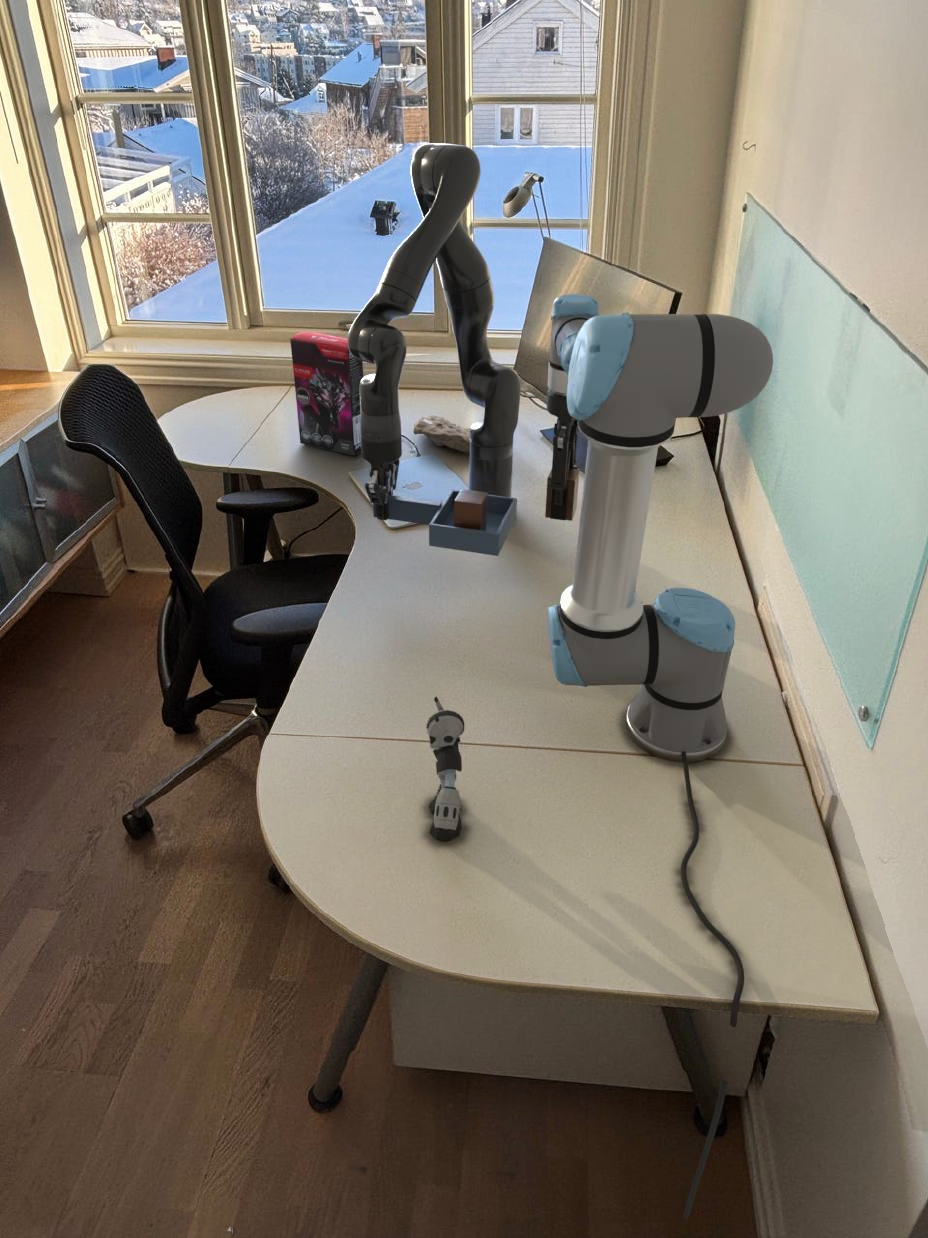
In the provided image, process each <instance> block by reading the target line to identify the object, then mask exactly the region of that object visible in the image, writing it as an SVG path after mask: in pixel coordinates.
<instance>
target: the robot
mask: <svg viewBox="0 0 928 1238" xmlns="http://www.w3.org/2000/svg"><path fill="white" fill-rule="evenodd" d="M433 701H434V703H435V706H436V708H437V712H434V713H433V714H432V715H430V717H429V718H428V720H427V722H426V724H425V727H426V734H427V735H428V738H429V747H430V749H432V753H433V755H434V757H435V759H436V762H435V769H436V775H437V777H438V778H439V783H440V784H439V785H438V789H437V792H436V795H434V797H433V798H432V799H431V801H430V802H429V804H428V809H429V811H430V814H431V815H432V816H433V821H432V824H431V826H430V829H429V832H428V834H429V835H430V836H431V837H432V838H433V839H434V840H435V841H439V842H449V841H452V840H454V839H457V838H459V837H460V835H461V832H462V831H463V827H462V826H463V825H462V817H461V815H460V812H461V810H462V808H461V797H460V793H459V792H460V791H459V790H458V789H457V787H456V781H457V772H462V770H463V766H462V765H463V761H462V755H461V752H460V747H459V743H460V742H461V737H460V736H461V735H463V733H464V732H465V720H464V717H462V715H461V714H460V713H458V712H457V711H454V710H451V709H445V708H444V707H443V705H442V703H441V702H440V699H439V698H438V697H437V696H435V697H434V698H433Z"/></svg>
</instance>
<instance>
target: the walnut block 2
mask: <svg viewBox="0 0 928 1238" xmlns="http://www.w3.org/2000/svg"><path fill="white" fill-rule="evenodd" d="M551 475H552V468H551V470H550V471H549V474H548V476H547V481H546V497H545V515H544V517H545V518H547V519H550V516H551V501H552V488H551V487H548V484H549V483H551ZM579 483H580V469H578V470H577V469H569V470H568V479H567V486H568V494H567V508H566V519H565V520H564V521H571V522H572V521H573V519H574V517H575V514H576V512H577V507H578V495H579Z"/></svg>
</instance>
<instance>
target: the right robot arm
mask: <svg viewBox="0 0 928 1238" xmlns="http://www.w3.org/2000/svg"><path fill="white" fill-rule="evenodd" d="M599 306H600V305H599V300H598V299H596V298H595V297H594V296H592V295H588V294H582V293H568V294H567V293H566V294H562V295H559V296H557V297H556V298H555V299H554V301H553V303H552V311H551V313H552V314H551V316H550V320H551V328H550V329H551V330H550V349H549V352H550V353H549V363H548V370H547V371H548V374H547V388H548V390H547V395H546V411H547V412H548V413H549V414H550V415H552V416H555V417H556V418H557V419H556V422H555V423H554V426H553V434H554V436H553V438H552V459H551V460H552V461H551V465H552V466H551V469H552V475H551V483H549V484H548V487H551V488H552V501H551V516H550V518H549V519H550V520H556V521H558V520H559V521H566V520H565V519H566V508H567V494H568V486H567V479H568V470H569V469H577V470H579V467H578V466H576V463H577V449H578V438H579V432H580V433H581V435H583V436H584V437H585V438H586V440H587V448H586V459H585V469H584V476H583V477H584V478H583V487H582V496H581V506H580V514H579V515H580V516H579V523H578V524H579V525H578V534H577V544H576V553H575V563H574V572H573V580H572V584H570V585H569V586H568V587H566V589H564V591H563V592H562V594H561V597H560V602H559V604H554V605H551V606H549V607H548V608H547V614H546V615H547V628H548V629H547V630H548V636H549V646H550V647H549V648H550V654H551V662H552V668H553V673H554V677H555V678H556V680H557V682H559V683H560V684H562V685H564V686H574V687H575V686H576V687H583V688H587V687H596V686H599V687H600V686H601V687H602V686H636V685H639V686H640V688H639V689H638V691H637V692H636V694H635V695H634V697H633V699H632V701H631V702H630V704H629V705H628V707H627V711H626V719H625V728H626V732H627V734H628V736H629V738H630V739H631V741H632V742H634V744H636V745H637V746H638V747H639V748H640V749H641V750H643V751H645V752H646V753H648V754H650V755H651V756H654V757H656V758H659V759H662V760H666V761H670V762H675V763H682V769H683V775H684V782H685V790H686V798H687V803H688V807H689V812H690V816H691V819H692V824H693V825H692V826H693V836H692V840H691V843H690V844H689V847H688V848H687V850H686V851H685V854H684V856H683V858H682V860H681V864H680V878H681V883H682V887H683V890H684V892H685V895H686V897H687V899H688V901H689V903H690V905H691V906H692V908H693V910H694V911H695V913H696V915H697V917H698V918H699V920H700V921H701V922H702V924H703V925H704V926H705V927H706V929H707V930H708V931H709V932H710V933H711V934H712V935H713V936H714V937H715V938H717V940H718V941H719V942H720V943H721V944H722V945H724V947H725V948H726V949H727V951H728V953H730V955H731V957H732V959H733V961H734V964H735V967H736V971H737V981H736V986H735V989H734V990H735V991H734V994H733V998H732V1003H731V1007H730V1018H729V1025H730V1027H731V1028H736V1027H737V1023H738V1014H739V1007H740V1002H741V998H742V993H743V989H744V985H745V970H744V966H743V962H742V959H741V958H740V955H739V954H738V952H737V950H736V948H735V947H734V946H733V945H732V943H731V942H730V941H729V940H728V939H727V938H726V936H724V935H723V934H722V933H721V931H720V930H718V929H717V928H716V927H715V925H713V924H712V923H711V922H710V920H709V919H708V918H707V917H706V915H705V914H704V912H703V910H702V908H701V907H700V905H699V904H698V902H697V900H696V898H695V897H694V894H693V892H692V891H691V888H690V886H689V882H688V875H687V868H688V862H689V860H690V858H691V857H692V855H693V853H694V851H695V850H696V847H697V845H698V843H699V838H700V824H699V820H698V815H697V812H696V807H695V804H694V798H693V792H692V784H691V777H690V770H689V763H694V762H700V761H703V760H706V759H709V758H711V757H714V755H716V754H718V752H720V751H721V750H722V748H723V747H724V744H725V743H726V740H727V739H726V738H727V734H728V721H727V716H726V712H725V708H724V707H725V706H724V701H723V692H724V686H725V682H726V678H727V672H728V668H729V664H730V659H731V654H732V651H733V649H734V646H735V631H736V620H735V617H734V614H733V612H732V611H731V609H730V608H729V607H728V606H727V605H726V604H725V603H724V602H723V601H721V600H720V599H718V598H716V597H715V596H713V595H711V594H709V593H706V592H704V591H701V590H698V589H695V588H689V587H688V588H687V587H672V588H670V587H669V588H667V589H665V590H663V591H660V592H659V593H658V595H657V596H656V597H655V599H654V600H653V604H644V603H643V600H642V598H641V596H640V595H639V594H638V593H637V592H636V589H637V583H638V577H639V571H640V563H641V557H642V551H643V545H644V539H645V532H646V527H647V521H648V520H647V519H648V514H649V508H650V500H651V494H652V488H653V481H654V477H655V476H654V475H655V471H656V470H655V469H656V463H657V457H658V452H659V451H658V450H659V447H661V446H663V445H665V444H666V443H667V442H669V441H670V440H671V439H672V438H673V435H674V432H675V427H676V421H677V419H683V418H707V417H709V418H710V417H717V416H721V415H725V414H729V413H731V412H735V411H736V410H739V409H741V408H742V407H744V406H746V405H748V404H749V403H751V402H752V401H754V399H756V398H757V397H758V396H759V395H760V393H761V392H762V391H763V389H765V388H766V386H767V384H768V383H769V380H770V378H771V375H772V372H773V366H774V356H773V355H774V354H773V350H772V349H773V348H772V345H771V344H770V342H769V340H768V337H766V336H765V334H764V333H763V332H762V331H761V330H760V328H758V327H756V326H755V325H754V324H753V323H751V322H748V321H746V320H745V319H741V318H738V317H735V316H731V315H726V314H720V313H702V314H695V313H694V314H693V313H652V314H650V313H643V314H642V313H629V312H620V313H618V314H601V315H599ZM720 1082H721V1083H720V1086H719V1091H718V1095H717V1100H716V1104H715V1107H714V1111H713V1116H712V1119H711V1121H710V1122H711V1123H710V1126H709V1128H708V1132H707V1136H706V1139H705V1143H704V1146H703V1149H702V1153H701V1156H700V1159H699V1162H698V1165H697V1167H696V1171H695V1173H694V1178H693V1181H692V1183H691V1187H690V1191H689V1193H688V1197H687V1200H686V1204H685V1206H684V1211H683V1214H682V1218H683V1220H685V1221H688V1220H689V1217H690V1214H691V1210H692V1206H693V1204H694V1200H695V1197H696V1193H697V1190H698V1187H699V1185H700V1181H701V1178H702V1176H703V1173H704V1169H705V1166H706V1164H707V1163H706V1162H707V1159H708V1157H709V1153H710V1151H711V1148H712V1144H713V1141H714V1138H715V1134H716V1131H717V1127H718V1125H719V1121H720V1117H721V1114H722V1110H723V1105H724V1102H725V1098H726V1097H725V1096H726V1093H727V1090H728V1086H729V1081H727V1080H725V1079H721V1081H720Z"/></svg>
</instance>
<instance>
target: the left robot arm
mask: <svg viewBox="0 0 928 1238" xmlns="http://www.w3.org/2000/svg"><path fill="white" fill-rule="evenodd" d="M411 159H412V160H411V163H410V177H411V184H412V188H413V191H414V195H415V198H416V200H417V203H418V207H419V210H420V211H421V214H422V217H423V219H422V220H421V222H420V223H419V224H418V225H417V227H416V228H415V229H414V230H413V231H412V232H411V233H410V234H409V235H408V236H407V237H406V238H405V239H404V240H403V241H402V242H401V244H400V245H399V246H398V247H397V249H395V251H394V252H393V253H392V255H391V257H390V259H389V261H388V262H387V265H386V267H385V269H384V272H383V274H382V277H381V279H380V281H379V284H378V286H377V288H376V291H375V293H374V294H373V296H372V297H371V298H370V299H369V300H368V302H366V304H365V305H364V308H362V310H361V311H360V313H359V314H358V315H357V317H356V318H355V319H354V320H353V323H352V324H351V326H350V329H349V330H348V336H347V339H348V348H349V351H350V353H351V355H352V356H353V357H354V358H356V359H358V360H361V361H363V363H367V364H372V365H375V373H372V374H368V375H365V376H363V377H364V378H362V380H361V381H360V386H359V393H360V409H361V410H360V435H361V452H360V453H361V457H362V459H363V460H364V461H366V462H367V463H369V464H370V467H369V469H368V472H369V474H368V475H369V477H370V481H369V482H365V483H364V489H365V492H366V494H367V496H368V499H369V501H370V503H371V504H373V503H375V504H376V513H377V517H376V519H377V520H379V521H387V520H389V519H388V517H389V516H388V495H393V496H394V491H396V489H397V483H398V475H399V468H400V463H401V462H400V459H401V457H402V455H403V448H402V447H403V446H402V445H403V444H402V419H401V413H400V400H399V399H400V394H399V388H400V387H399V386H400V383H401V378H402V374H403V369H404V366H405V362H406V358H407V351H408V350H407V349H408V348H407V347H408V346H407V341H406V338H405V336H404V334H403V332H402V331H401V330H400V329H399V328H398V327H396V326H394V325H389V324H390V323H391V322H392V321H393V320H395V319H402V318H407V317H409V316H411V314H412V313H413V311H414V308H415V306H416V303H417V301H418V299H419V297H420V295H421V292H422V289H423V287H424V285H425V283H426V280H427V278H428V276H429V273H430V271H431V270H432V267H433V265H434V263H435V262H436V265H437V268H438V273H439V277H440V282H441V287H442V291H443V296H444V299H445V303H446V307H447V311H448V315H449V318H450V323H451V327H452V332H453V336H454V340H455V345H456V351H457V358H458V366H459V373H460V375H459V376H460V380H461V382H460V383H461V386H462V390H463V393H464V395H465V397H466V398H467V399H468V400H469V401H470V402H472V403H473V404H475V405H477V406H479V407H481V408H484V411H483V413H484V414H483V419H480V420H477V421H475V422H473V423H472V424H471V425H470V427H469V428H470V452H469V467H468V468H469V469H468V470H469V471H468V472H469V473H468V478H469V479H468V481H469V482H468V483H469V485H468V490H472V491H479V492H487V494H489V495H496V496H504V497H511V498H512V485H513V464H514V463H513V462H514V461H513V459H514V435H515V431H516V429H517V426H518V423H519V416H520V415H519V414H520V404H521V392H522V391H521V389H522V388H521V387H522V386H521V380H520V379H521V378H520V376H519V374H518V372H517V371H516V370H515V369H514V368H511V367H509V366H506V365H504V364H501V363H499V362H496V361H494V359H493V357H492V354H491V350H490V346H489V342H488V337H487V331H488V326H489V325H490V324H489V323H490V320H491V318H492V314H493V310H494V307H495V295H494V287H493V283H492V278H491V273H490V270H489V266H488V263H487V261H486V260H485V257H484V255H483V254H482V252H481V251H480V250H479V248H478V247H477V245H476V243H475V242H474V241H473V239H472V238H471V237H470V235H469V234H468V232H467V230H466V228H464V225H463V223H462V222H461V218H462V216H464V215H463V214H464V213H465V212H466V210H467V208H468V207H469V206H470V203H471V202H472V200H473V198H474V196H475V194H476V192H477V189H478V187H479V184H480V180H481V174H482V171H481V163H480V159H479V156H478V154H477V153H476V151H474V150H473V149H472V148H471V147H468V146H467V145H462V144H453V143H452V144H451V143H438V142H437V143H435V142H433V143H424V144H421V145H420V146H418V147H417V148H416V150H415V152H414V153H413V155H412V158H411ZM383 494H384V496H383Z"/></svg>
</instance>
